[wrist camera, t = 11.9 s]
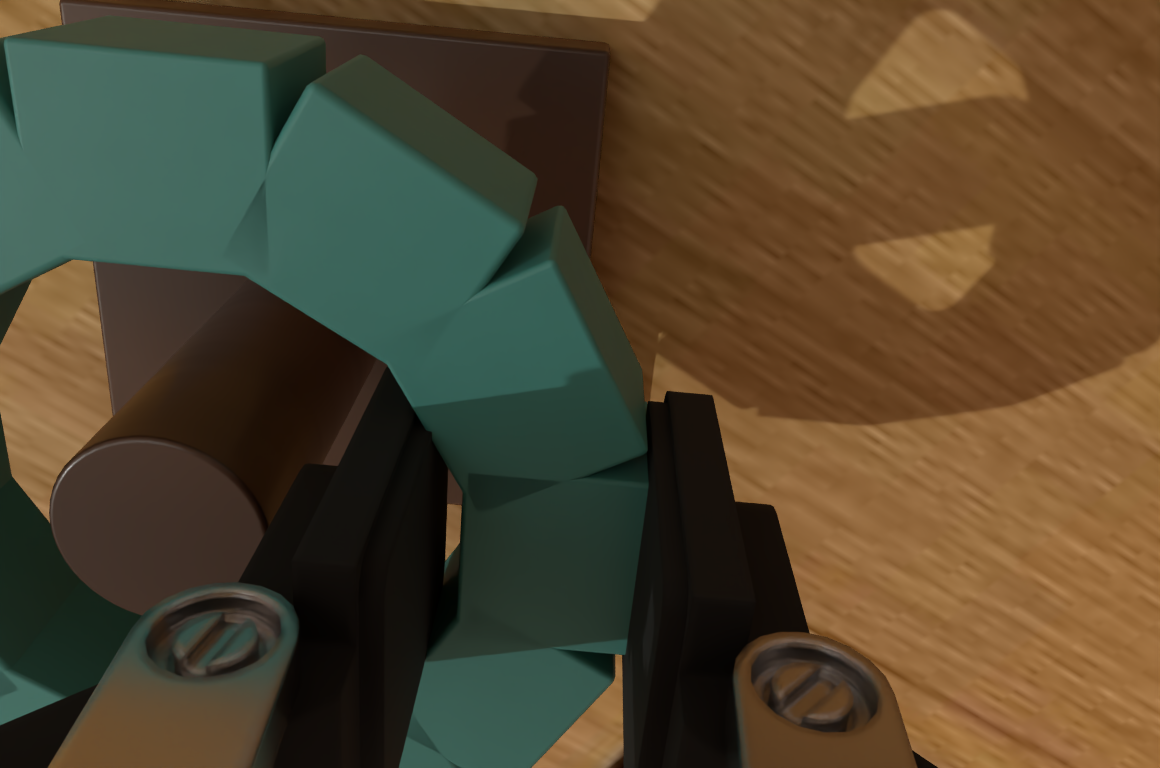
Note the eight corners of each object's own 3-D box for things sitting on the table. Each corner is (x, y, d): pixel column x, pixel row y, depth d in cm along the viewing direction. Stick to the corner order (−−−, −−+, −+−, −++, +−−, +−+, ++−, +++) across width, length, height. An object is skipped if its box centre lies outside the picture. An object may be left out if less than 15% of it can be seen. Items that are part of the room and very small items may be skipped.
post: (91, -8, 17) (-401, 65, 9) (610, 42, 17) (613, 161, 9) (143, 447, 21) (-163, 799, 13) (567, 485, 21) (541, 857, 13)
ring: (-268, -24, 10) (-456, -10, 8) (693, 72, 10) (711, 107, 9) (-78, 707, 15) (-175, 819, 13) (598, 766, 15) (596, 886, 13)
